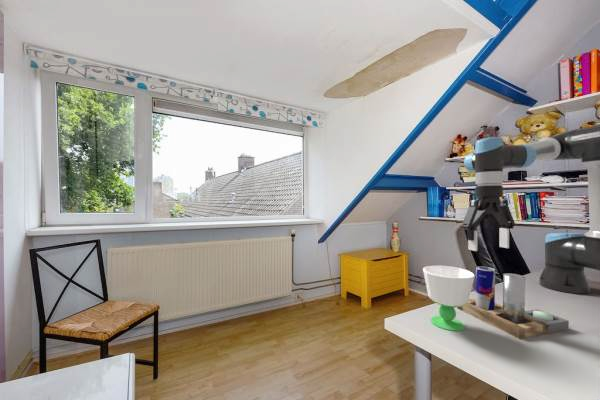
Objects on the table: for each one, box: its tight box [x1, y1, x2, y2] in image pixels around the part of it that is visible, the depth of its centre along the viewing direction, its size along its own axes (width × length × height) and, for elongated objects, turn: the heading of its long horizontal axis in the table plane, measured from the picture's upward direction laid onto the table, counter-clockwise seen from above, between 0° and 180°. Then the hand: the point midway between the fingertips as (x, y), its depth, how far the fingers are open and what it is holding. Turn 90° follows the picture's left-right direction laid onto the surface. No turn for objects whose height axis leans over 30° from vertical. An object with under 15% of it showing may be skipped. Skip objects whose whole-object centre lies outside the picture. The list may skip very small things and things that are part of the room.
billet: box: [502, 272, 526, 324], centre depth 78 cm, size 5×5×15 cm
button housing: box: [525, 309, 570, 334], centre depth 79 cm, size 8×8×2 cm
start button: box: [533, 310, 553, 322], centre depth 79 cm, size 4×4×2 cm
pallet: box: [456, 298, 550, 340], centre depth 82 cm, size 11×20×2 cm, turn 15°
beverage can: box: [475, 266, 496, 311], centre depth 87 cm, size 5×5×15 cm
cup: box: [422, 265, 476, 332], centre depth 80 cm, size 14×14×16 cm
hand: (488, 248), depth 88 cm, fingers open, 13 cm apart
